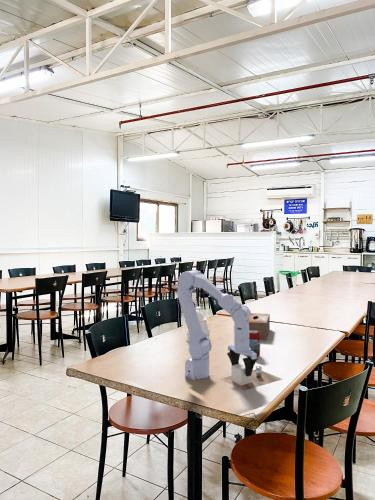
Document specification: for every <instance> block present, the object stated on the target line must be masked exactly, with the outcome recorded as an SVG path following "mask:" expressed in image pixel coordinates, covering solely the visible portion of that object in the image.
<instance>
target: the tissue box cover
mask: <svg viewBox="0 0 375 500" xmlns="http://www.w3.org/2000/svg"><path fill="white" fill-rule="evenodd" d="M248 320H249V330H257V331H259V334H260V341H268V336H269V333H270V324H271V323H270V322H271V318H270V313H257V312H256V313H255V312H251V316H250V318H249V319H248Z"/></svg>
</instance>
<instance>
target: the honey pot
mask: <svg viewBox="0 0 375 500" xmlns="http://www.w3.org/2000/svg"><path fill="white" fill-rule="evenodd" d="M195 309H196V312H197V316H198V319H199V322H200V325H201V328H202V331H203V332H204V333H205V334H206V336H207V338H208V340H209V341H210V339H211V338H210V337H211V336H210V335H211V334H210V329H209V324H208V322H207V320H208V319H207V318H206V317H205V315H204V314H203V312H202V311H201V309H202V307H201V306H195ZM189 337H190V334H189V331H188V328H187V329H186V341H187V342H188V341H189Z"/></svg>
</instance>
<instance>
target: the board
mask: <svg viewBox="0 0 375 500" xmlns="http://www.w3.org/2000/svg"><path fill="white" fill-rule="evenodd" d="M220 380H222V381H224V382H225V383H228V384H230V385H232V386H234V387H236V388H237V389H241V390H242V391H247V390H251V389H253V388H258V387H261V386H264V385H267V384H271V383H274V382H278V381H282V378H281V377H279V376H276V375H274V374H271V373H270V372H269V373H268V372H266V371H263V370H262V377H261V378H257V377H256V369H253V370H252V382H251V383H248V384H244V385H239V384H237V383H235V382H233V381H232V375H230V376H226V377H223V378H220Z"/></svg>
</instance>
